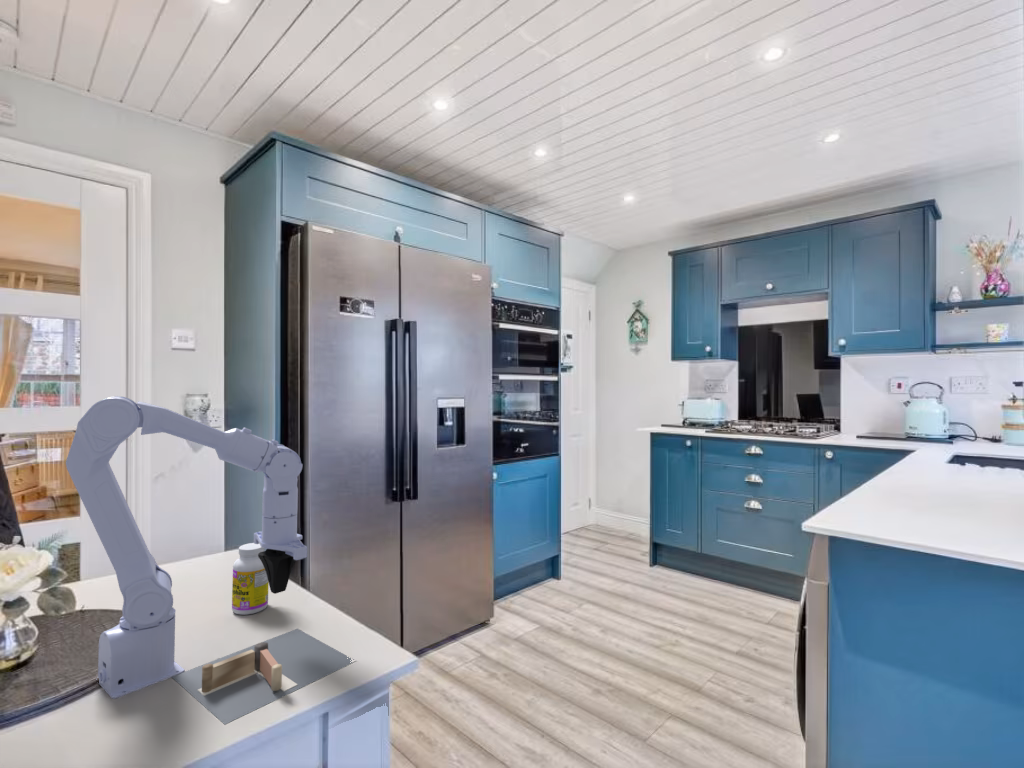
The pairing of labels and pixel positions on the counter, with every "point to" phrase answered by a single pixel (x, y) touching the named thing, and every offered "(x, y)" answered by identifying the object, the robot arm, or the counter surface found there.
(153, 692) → the counter surface
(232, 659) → the base
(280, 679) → the pink slab
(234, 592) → the supplement bottle
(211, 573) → the counter surface
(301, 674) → the board
